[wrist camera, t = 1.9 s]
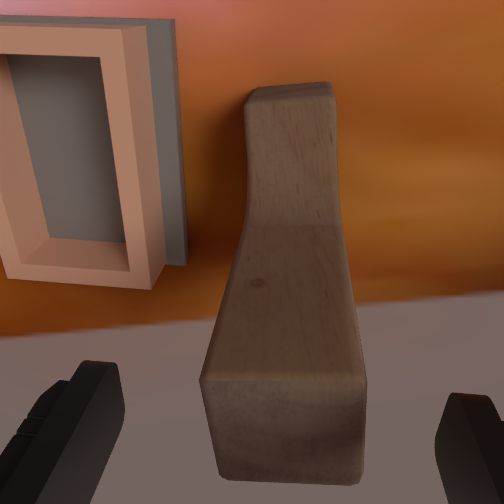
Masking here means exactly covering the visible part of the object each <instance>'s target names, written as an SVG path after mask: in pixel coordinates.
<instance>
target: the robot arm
mask: <svg viewBox="0 0 504 504" xmlns="http://www.w3.org/2000/svg"><path fill="white" fill-rule="evenodd" d="M124 413H125V404H124V398H123V393H122V387H121V383H120V376H119V371H118V367H117V364H116V363H112V362H101V361H90V360H85V361H83V362H82V363H81V364H80V365H79V367H78V368H77V370H76V372H75V373H74V375H73V376H72V378H71V380H70V381H64V380H59V381H58V382H56V383H55V384H54V385H53V386H52V387H50V388H49V389H48V390H47V391H45V392H44V393H43V394H42V395H41V396H40V397H39V398H38V400H37V401H36V403H35V404H34V406H33V407H32V409H31V410H30V412H29V413H28V415H27V419H24V421H23V422H22V424H21V425H20V427H19V428H18V430H17V434H16V435H14V436H13V437H12V439H11V440H10V442H9V443H8V445H7V446H6V448H5V449H4V451H3V452H2V454H1V455H0V504H90V502H91V499H92V497H93V495H94V492H95V490H96V488H97V485H98V483H99V481H100V478H101V476H102V474H103V471H104V469H105V466H106V464H107V462H108V459H109V457H110V455H111V452H112V450H113V447H114V445H115V443H116V441H117V438H118V436H119V433H120V431H121V428H122V425H123V421H124ZM435 457H436V462H437V466H438V469H439V472H440V476H441V479H442V482H443V486H444V489H445V493H446V496H447V500H448V503H449V504H504V421H501V419H500V417H499V415H498V413H497V410H496V408H495V406H494V404H493V402H492V401H491V399H490V398H489V397H488V396H486V395H476V394H464V393H451V394H450V395H449V398H448V400H447V403H446V406H445V409H444V412H443V415H442V418H441V421H440V424H439V427H438V430H437V433H436V437H435Z"/></svg>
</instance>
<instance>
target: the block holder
mask: <svg viewBox="0 0 504 504" xmlns="http://www.w3.org/2000/svg"><path fill="white" fill-rule="evenodd" d="M0 255H1V259H2V262H3V265H4V268H5V272H6V275H7V278H9V279H21V280H34V281H46V282H59V283H71V284H84V285H96V286H109V287H121V288H134V289H146V290H152V288H153V286H154V284H155V282H156V280H157V279H158V277H159V275H160V273H161V271H162V269H163V268H164V266H165V265H176V266H186V265H187V262H188V260H189V248H188V232H187V215H186V199H185V182H184V166H183V150H182V133H181V117H180V100H179V84H178V67H177V51H176V35H175V19H143V18H104V17H65V16H26V15H0Z"/></svg>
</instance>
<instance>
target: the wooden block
mask: <svg viewBox="0 0 504 504" xmlns="http://www.w3.org/2000/svg"><path fill="white" fill-rule="evenodd" d="M243 113H244V126H245V138H246V151H247V202H246V209H245V216H244V223H243V229H242V232H241V236H240V239H239V243H238V246H237V249H236V253H235V256H234V260H233V263H232V267H231V270H230V274H229V277H228V281H227V284H226V288H225V291H224V295H223V298H222V302H221V305H220V309H219V312H218V316H217V319H216V323H215V326H214V330H213V333H212V337H211V340H210V344H209V347H208V350H207V354H206V358H205V361H204V365H203V368H202V371H201V375H200V378H199V383H200V387H201V392H202V397H203V402H204V406H205V411H206V415H207V420H208V425H209V430H210V434H211V439H212V444H213V449H214V453H215V457H216V463H217V467H218V471H219V475H220V476H221V477H222V478H225V479H227V480H234V481H256V482H278V483H302V484H323V485H347V486H351V485H354V484H357V483H359V482H360V480H361V477H362V474H363V471H364V447H365V423H366V399H367V378H366V372H365V365H364V359H363V352H362V346H361V340H360V334H359V327H358V321H357V315H356V308H355V302H354V296H353V289H352V283H351V277H350V270H349V264H348V258H347V252H346V245H345V239H344V233H343V226H342V218H341V208H340V199H339V182H338V161H337V102H336V99H335V95H334V92H333V89H332V86H331V84H330V83H328V82H315V83H303V84H291V85H280V86H268V87H258V88H256V89H254V90H253V91H252V93H251V94H250V96H249V97H248V99H247V101H246V102H245V104H244V108H243Z"/></svg>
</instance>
